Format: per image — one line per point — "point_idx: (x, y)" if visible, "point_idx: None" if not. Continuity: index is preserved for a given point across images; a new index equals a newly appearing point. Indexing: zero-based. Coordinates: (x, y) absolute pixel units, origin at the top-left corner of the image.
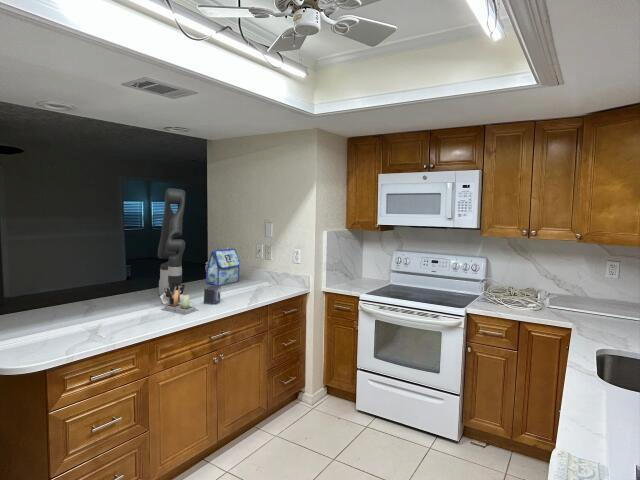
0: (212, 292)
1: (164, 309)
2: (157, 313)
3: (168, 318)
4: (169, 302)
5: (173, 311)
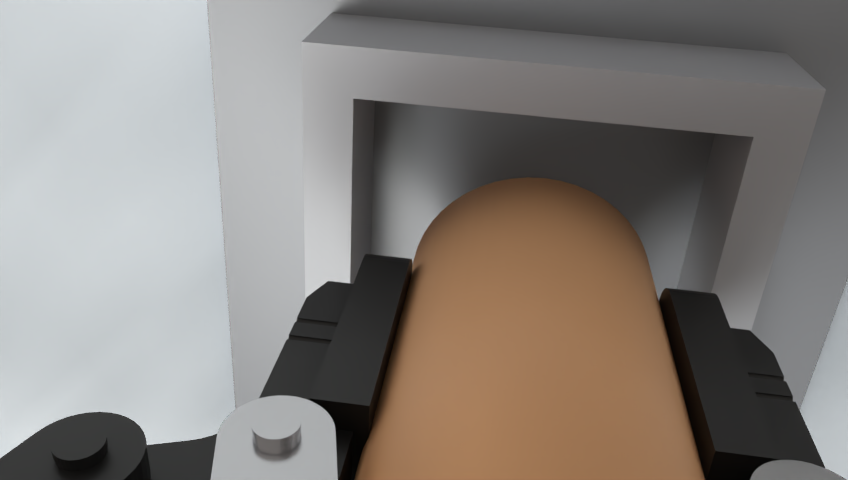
0: None
1: (298, 46)
2: (51, 14)
3: (9, 439)
4: (306, 302)
5: None
